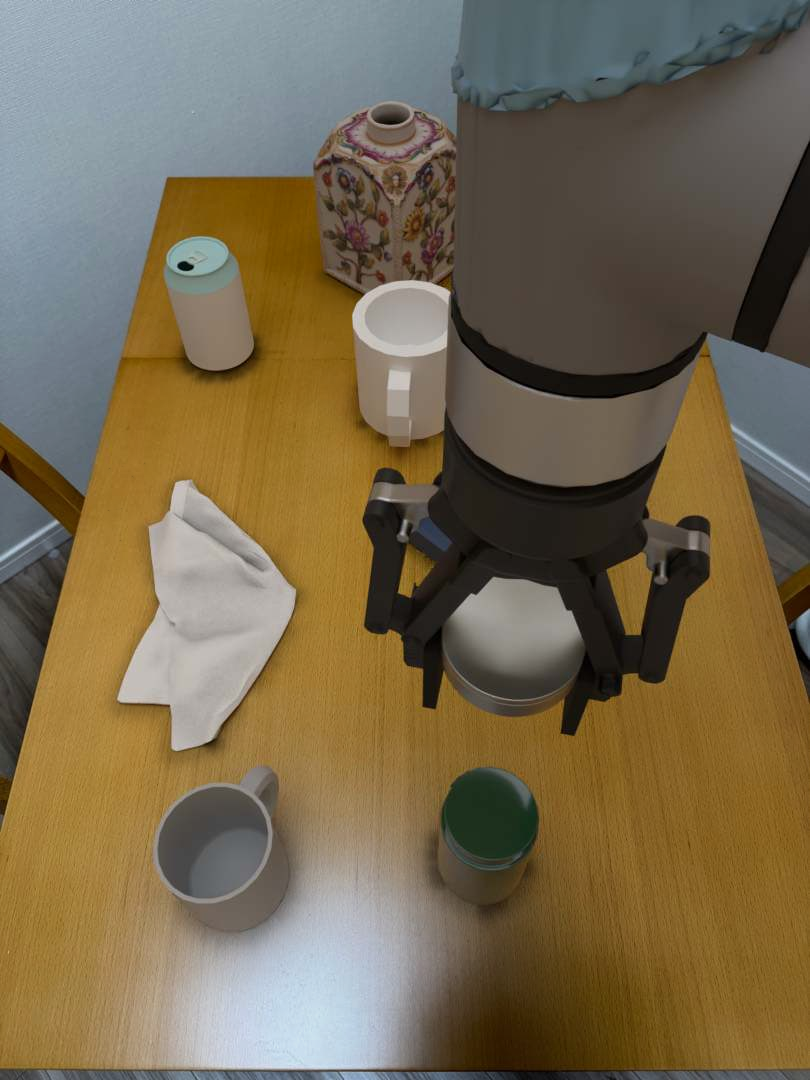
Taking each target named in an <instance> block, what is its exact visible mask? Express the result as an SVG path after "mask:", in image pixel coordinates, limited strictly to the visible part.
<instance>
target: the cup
mask: <svg viewBox="0 0 810 1080" xmlns="http://www.w3.org/2000/svg"><path fill="white" fill-rule="evenodd" d="M279 781H280V780H279V777H278V774H277V773H276V772H275V771H274V770H273V769H272V768H271V767H270V766H268V765H256V766H252V767H251V768H250V769H249V770H248V771H247V772H246V773H245V774H244V775H243V777H242V778H241V780H240V781H239V783H238V784H235V783H230V782H211V783H207V784H203V785H198V786H196V787H194V788H193V789H191V790H189V791H187V792H185V793H183V794H181V796H180V797H178V799H176V800H175V801H174V802H173V803H172V804H171V805H170V806H169V808H168V809H167V810H166V812H165V813H164V815H162V817H161V819H160V821H159V824H158V826H157V828H156V831H155V835H154V840H153V846H152V854H153V863H154V864H153V865H154V867H155V870H156V872H157V875H158V877H159V879H160V881H162V883H163V884H164V886H165V887H166V888H167V889H168V891H169V892H170V893H171V894H172V895H173V896H174V897H175V898H176V899H177V900H178V901H179V902H180V903H181V904H182V905H183V906H184V908H186V909H187V910H188V911H189V912H190V913H191V914H192V915H193V916H194V917H195V919H197V920H199V922H202V923H203V924H204V925H206V926H207V927H209V928H211V929H213V930H217V931H220V932H224V933H239V932H243V931H247V930H250V929H253V928H254V927H256V926H258V925H259V924H262V923H263V922H265V921H266V920H267V919H269V917H270V916H271V915H272V914H273V913H274V912H275V911H276V910H277V908H278V907H279V905H280V903H281V902H282V900H283V899H284V897H285V895H286V891H287V888H288V884H289V877H290V867H289V861H288V856H287V851H286V849H285V847H284V845H283V843H282V840H281V838H280V836H279V834H278V832H277V829H276V827H275V825H274V823H273V821H272V819H273V817H274V815H275V812H276V809H277V805H278V801H279V794H280V782H279Z"/></svg>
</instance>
